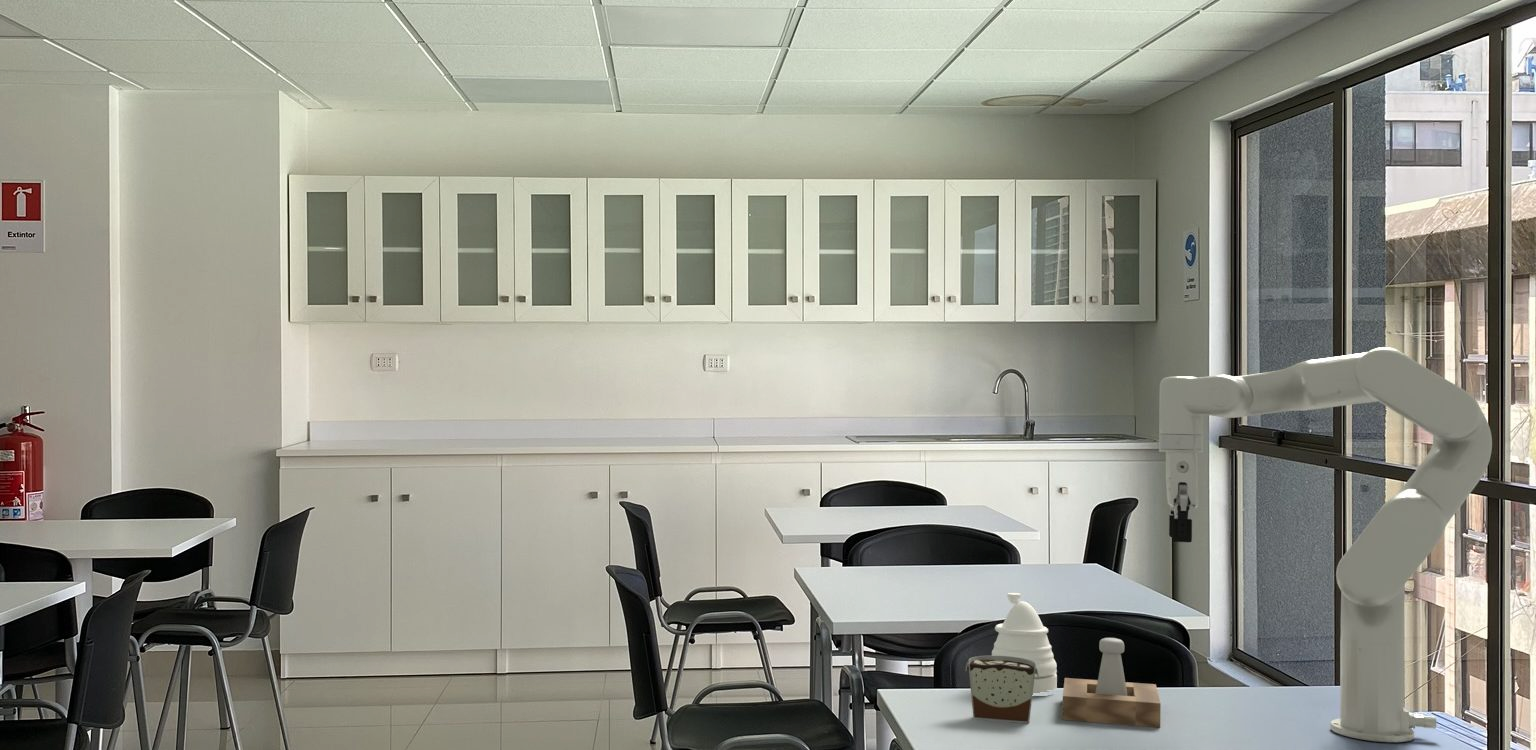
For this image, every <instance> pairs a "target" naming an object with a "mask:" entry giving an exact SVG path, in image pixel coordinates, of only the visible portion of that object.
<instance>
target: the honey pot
mask: <svg viewBox="0 0 1536 750" xmlns="http://www.w3.org/2000/svg"><path fill="white" fill-rule="evenodd" d="M1006 595H1007V599H1008V601H1009V602H1010V603H1011V604H1013V606H1012V608H1011V609H1010V610H1009V612H1008V613H1007V615H1006V617H1005V619H1004V621H1003V623H999V624H996V625H995V627H994V630H995V631H996V632H997V633H998V634H997V638H996V641H995V642H994V643H993V649H992V650H991V656H1011V657H1018V658H1024V659H1028V660H1031V661H1033V662H1035V664H1036V667H1037V670H1038V675H1039V676H1037V674H1035V678H1034V686H1033V693H1040V692H1049V691H1047V690H1054V689H1057V690H1058V685H1057V683H1058V675H1057V673H1058V670H1057V666H1058V665H1057V662H1056V660H1055V658H1054V653H1053V651H1052V648H1053V646H1052V645H1051V644H1050V641H1049V638H1048V635H1047V634H1048V633H1049V628H1047V627H1046V626H1044V624H1043V622H1042V621H1041V618H1040V616H1039V614H1038V612H1037V611H1036V609H1035V608H1034V607H1033V606H1032V605H1031V604H1030V603H1028V601H1022V600H1021V596H1022V593H1019V592H1007V594H1006Z"/></svg>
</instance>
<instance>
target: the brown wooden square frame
mask: <svg viewBox="0 0 1536 750" xmlns="http://www.w3.org/2000/svg"><path fill="white" fill-rule="evenodd" d="M1063 681H1064V683H1063V692H1062V720H1065V721H1076V722H1077V721H1079V722H1087V723H1089V722H1090V723H1099V724H1100V723H1101V724H1112V725H1114V724H1116V725H1125V726H1138V727H1139V726H1141V727H1149V728H1151V727H1152V728H1161V710H1162V709H1161V707H1162V705H1161V700H1160V697H1159V693H1158V687H1157V684H1156V683H1155V684H1154V683H1142V682H1141V683H1140V682H1128V681H1127V682H1126V681H1125V683H1126V689H1127V695H1128V696H1121V695H1107V694H1095V692H1096V687H1097V682H1098V679H1084V678H1073V677H1072V678H1071V677H1070V678H1069V677H1064V680H1063Z"/></svg>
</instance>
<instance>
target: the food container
mask: <svg viewBox="0 0 1536 750" xmlns="http://www.w3.org/2000/svg"><path fill="white" fill-rule="evenodd" d="M967 671H968V673H969V685H970V698H971V706H972V707H971V709H972V718H973V720H985V721H995V722H996V721H997V722H1008V723H1021V724H1030V719H1031V709H1032V703H1033V702H1032V701H1033V697H1032V695H1033V686H1034V678H1035V674H1037V676H1039V675H1038V670H1037V667H1036V664H1035V662H1033V661H1031V660H1028V659H1024V658H1018V657H1011V656H992V655H978V656H973V657H972V656H971V657H970V658H969V659H968V661H967V662H966V665H965V672H967Z"/></svg>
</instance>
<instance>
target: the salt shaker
mask: <svg viewBox="0 0 1536 750" xmlns="http://www.w3.org/2000/svg"><path fill="white" fill-rule="evenodd" d="M1098 646H1099V651H1100V652H1101V653H1102V657H1101V661H1100V666H1099V672H1098V678H1097V680H1098V682H1097V687H1096V692H1095V694H1107V695H1121V696H1128V695H1127V689H1126V683H1125V682H1126V679H1125V678H1126V677H1125V672H1124V666H1123V661H1122V660H1123V659H1122V654H1124V652H1125V643H1124V641H1123V640H1122V639H1120V638H1116V637H1104V638H1101V639H1100V640H1099V644H1098Z"/></svg>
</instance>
